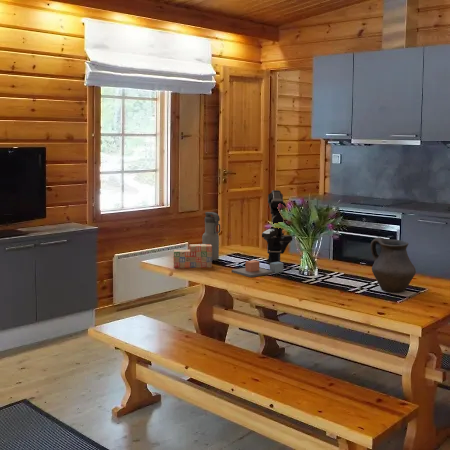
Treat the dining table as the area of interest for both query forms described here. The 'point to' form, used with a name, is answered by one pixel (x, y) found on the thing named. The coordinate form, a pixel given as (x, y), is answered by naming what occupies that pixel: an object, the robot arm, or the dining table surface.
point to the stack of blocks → (194, 256)
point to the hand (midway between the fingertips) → (276, 252)
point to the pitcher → (392, 265)
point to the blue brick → (276, 267)
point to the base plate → (252, 274)
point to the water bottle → (212, 233)
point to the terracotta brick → (252, 266)
